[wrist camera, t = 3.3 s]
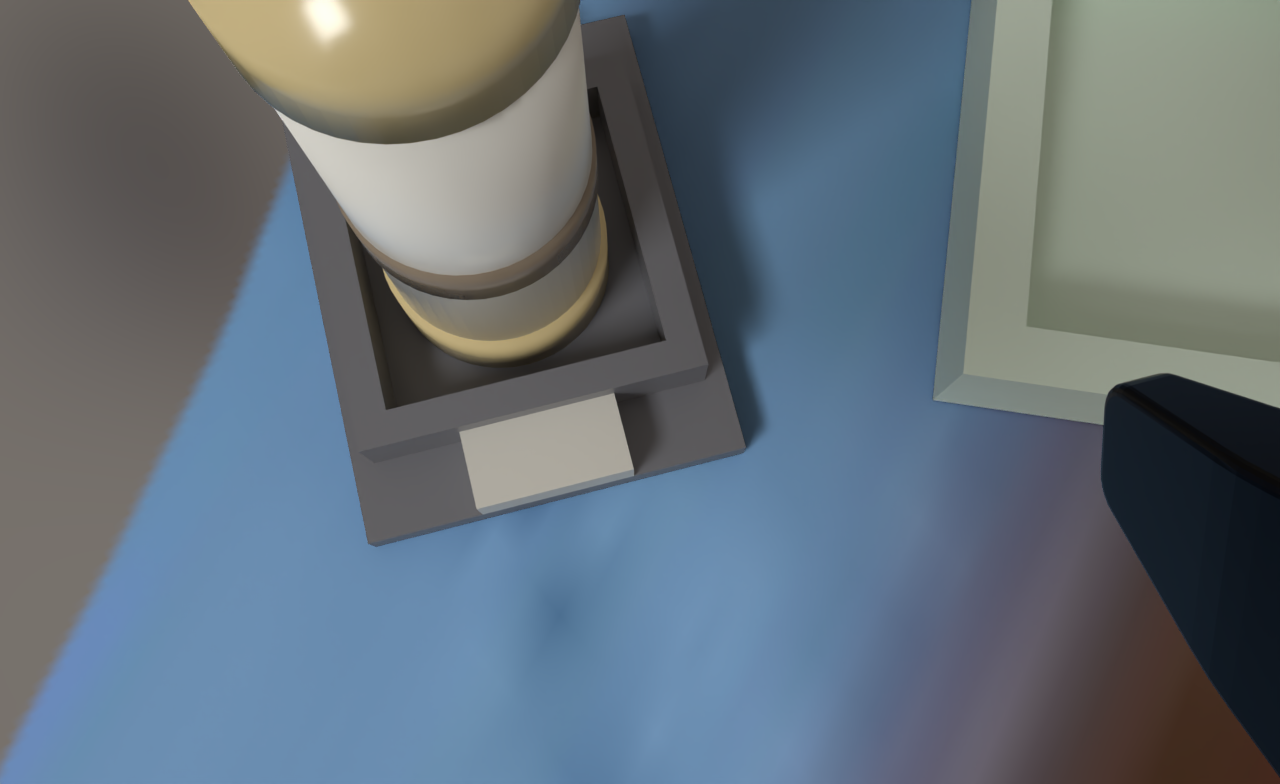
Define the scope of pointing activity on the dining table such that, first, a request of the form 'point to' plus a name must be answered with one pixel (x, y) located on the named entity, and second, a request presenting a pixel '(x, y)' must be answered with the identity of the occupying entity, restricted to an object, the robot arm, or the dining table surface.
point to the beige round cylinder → (446, 154)
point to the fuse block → (544, 390)
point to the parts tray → (1113, 203)
